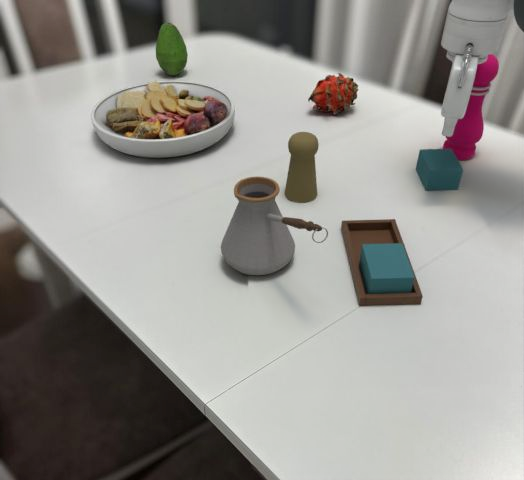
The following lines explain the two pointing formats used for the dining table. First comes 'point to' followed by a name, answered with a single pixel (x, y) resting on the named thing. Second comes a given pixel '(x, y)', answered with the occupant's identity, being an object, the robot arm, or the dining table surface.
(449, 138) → the pepper mill
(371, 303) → the brown wooden tray
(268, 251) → the coffee pot
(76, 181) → the dining table surface
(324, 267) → the dining table surface
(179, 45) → the avocado
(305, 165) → the olive peg doll
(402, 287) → the teal block
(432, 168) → the loose pad
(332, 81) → the dragon fruit
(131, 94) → the bowl
